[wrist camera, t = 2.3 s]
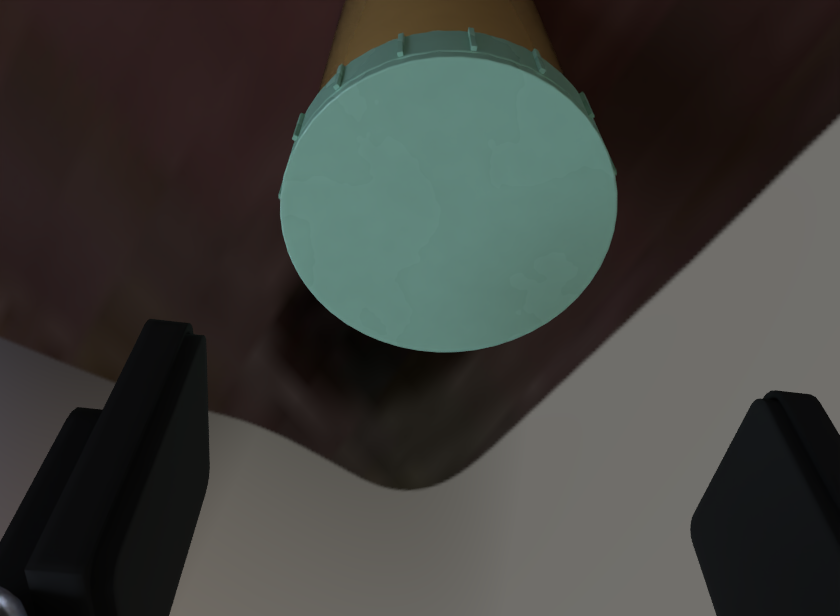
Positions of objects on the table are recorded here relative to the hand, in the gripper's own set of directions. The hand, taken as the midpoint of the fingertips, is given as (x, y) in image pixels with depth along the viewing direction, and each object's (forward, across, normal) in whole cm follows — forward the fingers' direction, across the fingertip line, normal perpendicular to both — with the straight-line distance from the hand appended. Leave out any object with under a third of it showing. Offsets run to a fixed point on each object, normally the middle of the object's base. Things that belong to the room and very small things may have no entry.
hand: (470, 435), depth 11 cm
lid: (+6, 0, 0) cm, 6 cm away
